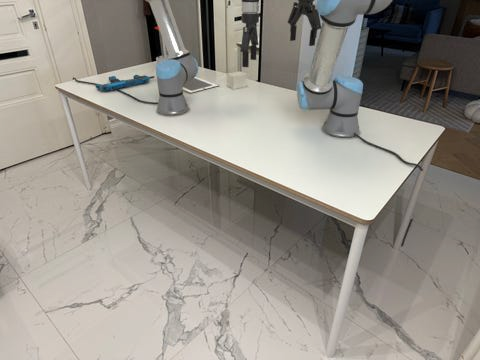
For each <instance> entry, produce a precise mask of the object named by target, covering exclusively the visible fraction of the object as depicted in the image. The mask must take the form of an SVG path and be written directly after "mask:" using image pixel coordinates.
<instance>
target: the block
mask: <svg viewBox="0 0 480 360" xmlns="http://www.w3.org/2000/svg"><path fill="white" fill-rule="evenodd" d="M247 81H248V74H247V73H245V72H243V71H241V70H239V71H234V72H229V73H228V72H227V73H226V85H227V87H229V88H230V89H233V90H237V89H242V88H247V86H248V85H247V84H248V82H247Z"/></svg>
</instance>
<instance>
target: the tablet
mask: <svg viewBox="0 0 480 360" xmlns="http://www.w3.org/2000/svg"><path fill="white" fill-rule="evenodd" d="M182 86H183V92H186V93H189V94H193V93H197V92H201V91H206V90H209V89H212V88H216V87H219V84H216V83H214V82H212V81H209V80H206V79H204V78H201V77H198V76H196V77H195V78H193V79H192V80H191V81H188V82H186V83H185V84H183V85H182Z"/></svg>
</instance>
